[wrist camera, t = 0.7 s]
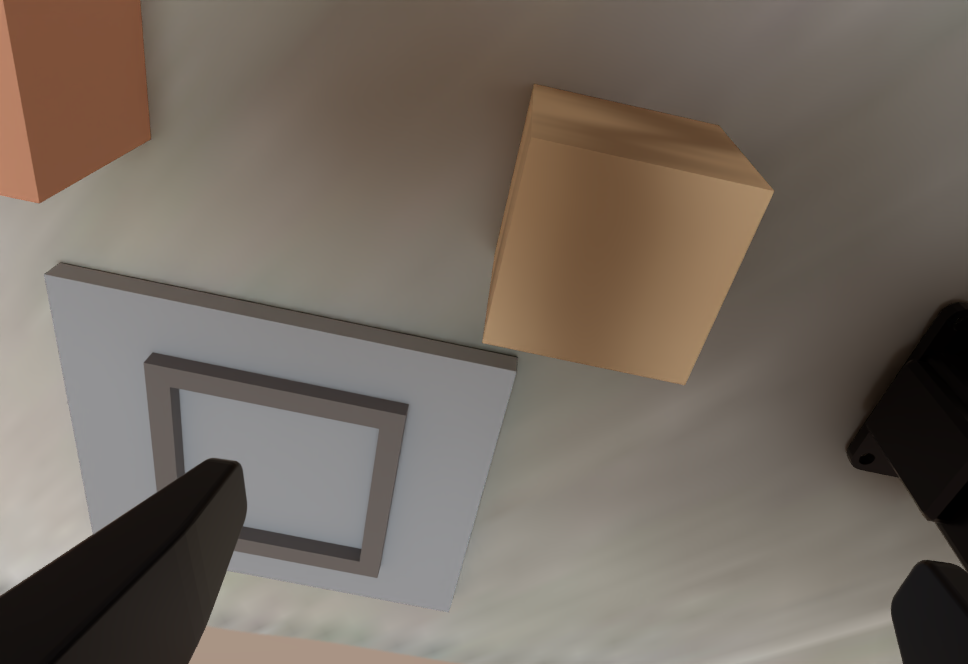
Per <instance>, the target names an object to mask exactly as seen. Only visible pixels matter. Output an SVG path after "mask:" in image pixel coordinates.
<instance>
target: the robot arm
mask: <svg viewBox="0 0 968 664" xmlns="http://www.w3.org/2000/svg"><path fill="white" fill-rule="evenodd" d="M961 317H964V319H963V320H962V321H961V322H959V323H956V324H954V322H955V321H956V320H957V319H958V318H961ZM846 453H847V457H848V459H849V461H850V462H851V464H852V465H853V466H854V467H855V468H857V469H859V470H864V471H869V472H874V473H879V474H884V475H889V476H894V477H898V478H900V480H901V481H902V483H903V484H904V486H905V488H906V489H907V491H908V492H909V494H910V495H911V497H912V499H913V500H914V502H915V503H916V505H917V506H918V508H919V510H920V511H921V513H922V514H923V516H924V517H925V518H926V519H927V520H928V521H932V522H935V524H936V525H937V527H938V528H939V530H940V531H941V533H942V534H943V536H944V537H945V539H946V541H947V542H948V544H949V545H950V547H951V548H952V550H953V551H954V553H955V554H956V556H957V557H958V559H959V561H960V562H961V564H962V565H963V567H964V568H965V570H966V571H967V572H966V571H965V570H963V569H962V568H961V567H959V566H957V565H954V564H951V563H945V562H938V561H931V560H922V561H920V562H918V563H917V564H916V565H915V566H914V567H913V569H912V570H911V572H910V573H909V575H908V576H907V578H906V579H905V581H904V582H903V584H902V585H901V587H900V588H899V589H898V591H897V592H896V594H895V595H894V597H893V600H892V604H891V615H892V621H893V625H894V629H895V633H896V637H897V641H898V645H899V649H900V653H901V657H902V661H903V664H968V303H962V302H958V303H954V304H951V305H949V306H947V307H946V308H944V309H943V310H942V311H941V312H940V313H939V315H938V316H937V318H936V319H935V321H934V322H933V324H932V325H931V327H930V328H929V329H928V331H927V332H926V334H925V335H924V337H923V338H922V340H921V341H920V343H919V344H918V346H917V347H916V349H915V350H914V352H913V353H912V355H911V356H910V357H909V359H908V360H907V362H906V363H905V365H904V366H903V368H902V369H901V371H900V372H899V374H898V375H897V377H896V378H895V380H894V381H893V383H892V384H891V385H890V387H889V388H888V390H887V391H886V393H885V394H884V396H883V397H882V399H881V400H880V402H879V403H878V405H877V406H876V408H875V409H874V411H873V412H872V413H871V415H870V416H869V418H868V419H867V421H866V422H865V424H864V425H863V427H862V428H861V430H860V431H859V433H858V434H857V436H856V437H855V439H854V440H853V442H852V443H851V444H850V446H849V447H848V449H847V452H846ZM866 453H868V454H867V455H865V456H862V455H864V454H866ZM246 514H247V497H246V489H245V482H244V474H243V468H242V466H241V464H240V463H239V462H237V461H234V460H227V459H220V458H209V459H207V460H205V461H203V462H201V463H200V464H198V465H197V466H195V467H194V468H192V469H191V470H189V471H188V472H186V473H185V474H183V475H182V476H180V477H179V478H177V479H176V480H174V481H173V482H171V483H170V484H168V485H167V486H165V487H164V488H162V489H161V490H159V491H158V492H156V493H155V494H153V495H152V496H150V497H149V498H147V499H146V500H144V501H143V502H141V503H140V504H138V505H137V506H135V507H134V508H132V509H131V510H129V511H128V512H126V513H125V514H123V515H121V516H120V517H118V518H117V519H115V520H114V521H112V522H111V523H109V524H108V525H106V526H105V527H103V528H102V529H100V530H99V531H97V532H96V533H94V534H93V535H91V536H90V537H88V538H87V539H85V540H84V541H82V542H81V543H79V544H78V545H76V546H75V547H73V548H72V549H70V550H69V551H67V552H66V553H64V554H63V555H61V556H60V557H58V558H57V559H55V560H54V561H52V562H51V563H49V564H48V565H46V566H45V567H43V568H42V569H40V570H39V571H37V572H36V573H34V574H33V575H31V576H30V577H28V578H27V579H25V580H24V581H22V582H21V583H19V584H18V585H16V586H14V587H13V588H11V589H10V590H8V591H7V592H5V593H4V594H2V595H1V596H0V664H188V663H189V661H190V659H191V657H192V655H193V653H194V651H195V649H196V647H197V645H198V643H199V641H200V638H201V636H202V634H203V632H204V630H205V628H206V625H207V623H208V620H209V617H210V615H211V612H212V610H213V607H214V604H215V602H216V599H217V596H218V593H219V591H220V588H221V585H222V582H223V580H224V577H225V574H226V571H227V569H228V566H229V563H230V560H231V558H232V555H233V552H234V549H235V547H236V544H237V541H238V538H239V536H240V533H241V530H242V528H243V525H244V522H245V519H246Z"/></svg>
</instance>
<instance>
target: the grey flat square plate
mask: <svg viewBox="0 0 968 664" xmlns="http://www.w3.org/2000/svg"><path fill="white" fill-rule="evenodd" d="M44 277H45V283H46V288H47V293H48V298H49V304H50V309H51V314H52V320H53V325H54V330H55V336H56V341H57V346H58V352H59V357H60V362H61V368H62V373H63V378H64V383H65V389H66V394H67V399H68V405H69V410H70V415H71V421H72V426H73V431H74V437H75V442H76V447H77V452H78V458H79V463H80V468H81V474H82V479H83V484H84V490H85V495H86V500H87V506H88V511H89V516H90V521H91V527H92V532H93V534H94V533H96V532H97V531H99V530H100V529H102V528H103V527H105V526H106V525H108V524H109V523H111V522H112V521H114V520H115V519H117V518H118V517H120V516H121V515H123V514H125V513H126V512H128V511H129V510H131V509H132V508H134V507H135V506H137V505H138V504H140V503H141V502H143V501H144V500H146V499H147V498H149V497H150V496H152V495H153V494H155V493H156V492H158V491H159V490H161V489H162V488H164V487H165V486H167V485H168V484H170V483H171V482H173V481H174V480H176V479H177V478H179V477H180V476H182V475H183V474H185V473H186V472H188V471H189V470H191V469H192V468H194V467H195V466H197V465H198V464H200V463H201V462H203V461H205V460H207V459H209V458H220V459H227V460H234V461H237V462H239V463H240V464H241V466H242V468H243V474H244V482H245V489H246V497H247V514H246V519H245V522H244V525H243V528H242V530H241V533H240V536H239V538H238V541H237V544H236V547H235V549H234V552H233V555H232V558H231V560H230V563H229V566H228V569H227V571H232V572H237V573H243V574H248V575H253V576H259V577H264V578H269V579H274V580H280V581H285V582H290V583H296V584H301V585H306V586H312V587H317V588H322V589H327V590H333V591H338V592H343V593H349V594H354V595H359V596H365V597H370V598H375V599H380V600H386V601H391V602H396V603H402V604H407V605H412V606H418V607H423V608H428V609H434V610H439V611H444V612H449V610H450V607H451V603H452V599H453V596H454V592H455V589H456V585H457V582H458V578H459V575H460V571H461V567H462V564H463V560H464V557H465V553H466V550H467V546H468V543H469V539H470V536H471V532H472V528H473V525H474V521H475V518H476V514H477V511H478V507H479V504H480V500H481V497H482V493H483V489H484V486H485V482H486V479H487V475H488V472H489V468H490V465H491V461H492V457H493V454H494V450H495V447H496V443H497V440H498V436H499V433H500V429H501V426H502V422H503V418H504V415H505V411H506V408H507V404H508V401H509V397H510V394H511V390H512V387H513V383H514V379H515V376H516V372H517V357H512V356H507V355H503V354H498V353H493V352H488V351H483V350H479V349H474V348H469V347H464V346H459V345H454V344H450V343H445V342H440V341H435V340H430V339H425V338H421V337H416V336H411V335H406V334H401V333H396V332H392V331H387V330H382V329H377V328H372V327H368V326H363V325H358V324H353V323H348V322H343V321H339V320H334V319H329V318H324V317H319V316H314V315H310V314H305V313H300V312H295V311H290V310H285V309H281V308H276V307H271V306H266V305H261V304H257V303H252V302H247V301H242V300H237V299H232V298H228V297H223V296H218V295H213V294H208V293H203V292H199V291H194V290H189V289H184V288H179V287H174V286H170V285H165V284H160V283H155V282H150V281H146V280H141V279H136V278H131V277H126V276H121V275H117V274H112V273H107V272H102V271H97V270H92V269H88V268H83V267H78V266H73V265H68V264H63V263H59V264H57V265H56V266H55V267H53V268H52V269H51V270H49V271H48V272H46V273H45V274H44Z"/></svg>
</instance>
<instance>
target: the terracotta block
mask: <svg viewBox="0 0 968 664" xmlns="http://www.w3.org/2000/svg"><path fill="white" fill-rule="evenodd" d="M150 139H151V133H150V120H149V107H148V95H147V82H146V69H145V56H144V43H143V30H142V17H141V5H140V0H0V195H2V196H7V197H11V198H16V199H21V200H26V201H30V202H35V203H41V202H43V201H45V200H46V199H48V198H50V197H51V196H53V195H55V194H57V193H58V192H60V191H62V190H64V189H65V188H67V187H69V186H71V185H72V184H74V183H76V182H77V181H79V180H81V179H83V178H84V177H86V176H88V175H90V174H91V173H93V172H95V171H97V170H98V169H100V168H102V167H103V166H105V165H107V164H109V163H110V162H112V161H114V160H116V159H117V158H119V157H121V156H123V155H124V154H126V153H128V152H129V151H131V150H133V149H135V148H136V147H138V146H140V145H142V144H143V143H145V142H147V141H149V140H150Z"/></svg>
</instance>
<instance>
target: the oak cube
mask: <svg viewBox="0 0 968 664" xmlns="http://www.w3.org/2000/svg"><path fill="white" fill-rule="evenodd" d="M773 193H774V190H773V189H772V188H771V187H770V186H769V184H768V183H767V182H766V181H765V180H764V178H763V177H762V176H761V175H760V174H759V172H758V171H757V170H756V169H755V168H754V167H753V165H752V164H751V163H750V162H749V161H748V159H747V158H746V157H745V156H744V155H743V154H742V152H741V151H740V150H739V149H738V148H737V146H736V145H735V144H734V143H733V142H732V140H731V139H730V138H729V137H728V136H727V135H726V133H725V132H724V131H723V130H722V129H721V127H720V126H719V125H715V124H710V123H706V122H702V121H697V120H693V119H688V118H684V117H679V116H675V115H671V114H666V113H662V112H657V111H653V110H648V109H644V108H639V107H635V106H631V105H626V104H622V103H617V102H613V101H608V100H604V99H600V98H595V97H591V96H586V95H582V94H577V93H573V92H569V91H564V90H560V89H555V88H551V87H546V86H542V85H538V84H534V85H533V90H532V94H531V98H530V103H529V107H528V112H527V116H526V120H525V125H524V129H523V133H522V138H521V142H520V146H519V151H518V155H517V159H516V164H515V168H514V172H513V177H512V181H511V185H510V190H509V194H508V198H507V203H506V207H505V211H504V216H503V220H502V225H501V229H500V233H499V238H498V242H497V246H496V251H495V256H494V263H493V270H492V277H491V284H490V291H489V298H488V305H487V313H486V320H485V327H484V334H483V341H482V343H485V344H490V345H494V346H499V347H504V348H509V349H514V350H519V351H523V352H528V353H533V354H538V355H543V356H547V357H552V358H557V359H562V360H567V361H571V362H576V363H581V364H586V365H591V366H595V367H600V368H605V369H610V370H615V371H619V372H624V373H629V374H634V375H639V376H643V377H648V378H653V379H658V380H663V381H667V382H672V383H677V384H682V385H685V384H686V382H687V380H688V377H689V375H690V373H691V371H692V369H693V366H694V364H695V362H696V360H697V358H698V356H699V353H700V351H701V349H702V347H703V345H704V343H705V340H706V338H707V336H708V334H709V332H710V330H711V327H712V325H713V323H714V321H715V319H716V317H717V314H718V312H719V310H720V308H721V306H722V304H723V301H724V299H725V297H726V295H727V293H728V291H729V288H730V286H731V284H732V282H733V280H734V277H735V275H736V273H737V271H738V269H739V267H740V264H741V262H742V260H743V258H744V256H745V254H746V251H747V249H748V247H749V245H750V243H751V241H752V238H753V236H754V234H755V232H756V230H757V228H758V225H759V223H760V221H761V219H762V217H763V215H764V212H765V210H766V208H767V206H768V204H769V202H770V199H771V197H772V195H773Z"/></svg>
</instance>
